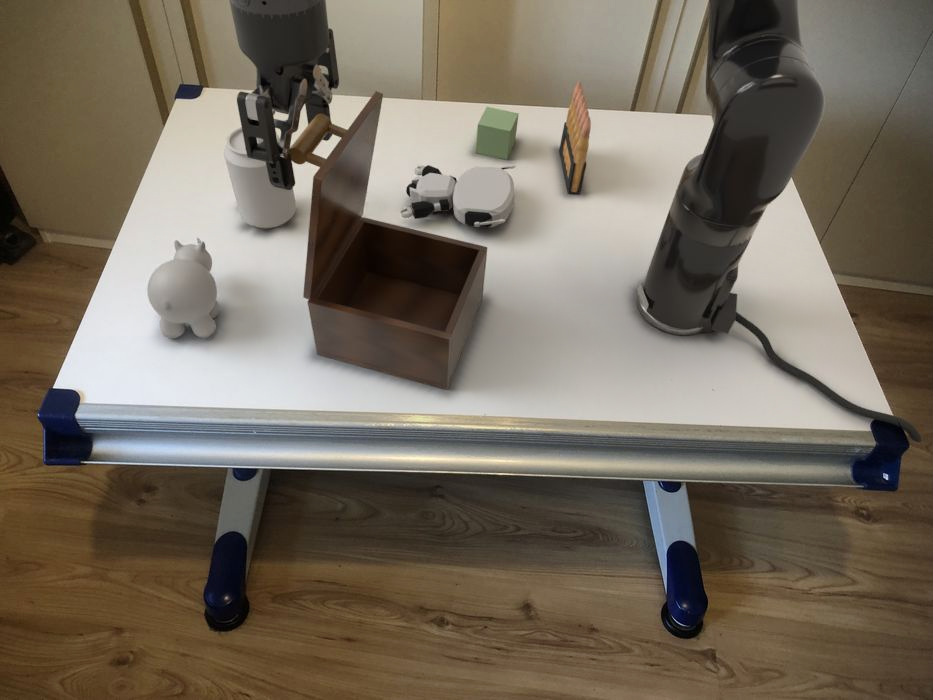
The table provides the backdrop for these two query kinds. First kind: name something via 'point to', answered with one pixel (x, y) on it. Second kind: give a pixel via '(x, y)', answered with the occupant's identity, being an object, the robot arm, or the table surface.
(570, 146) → the ammunition clip
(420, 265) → the chest
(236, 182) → the can
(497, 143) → the block
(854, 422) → the table surface
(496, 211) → the robot toy
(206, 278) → the chubby cartoon animal
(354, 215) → the lid
